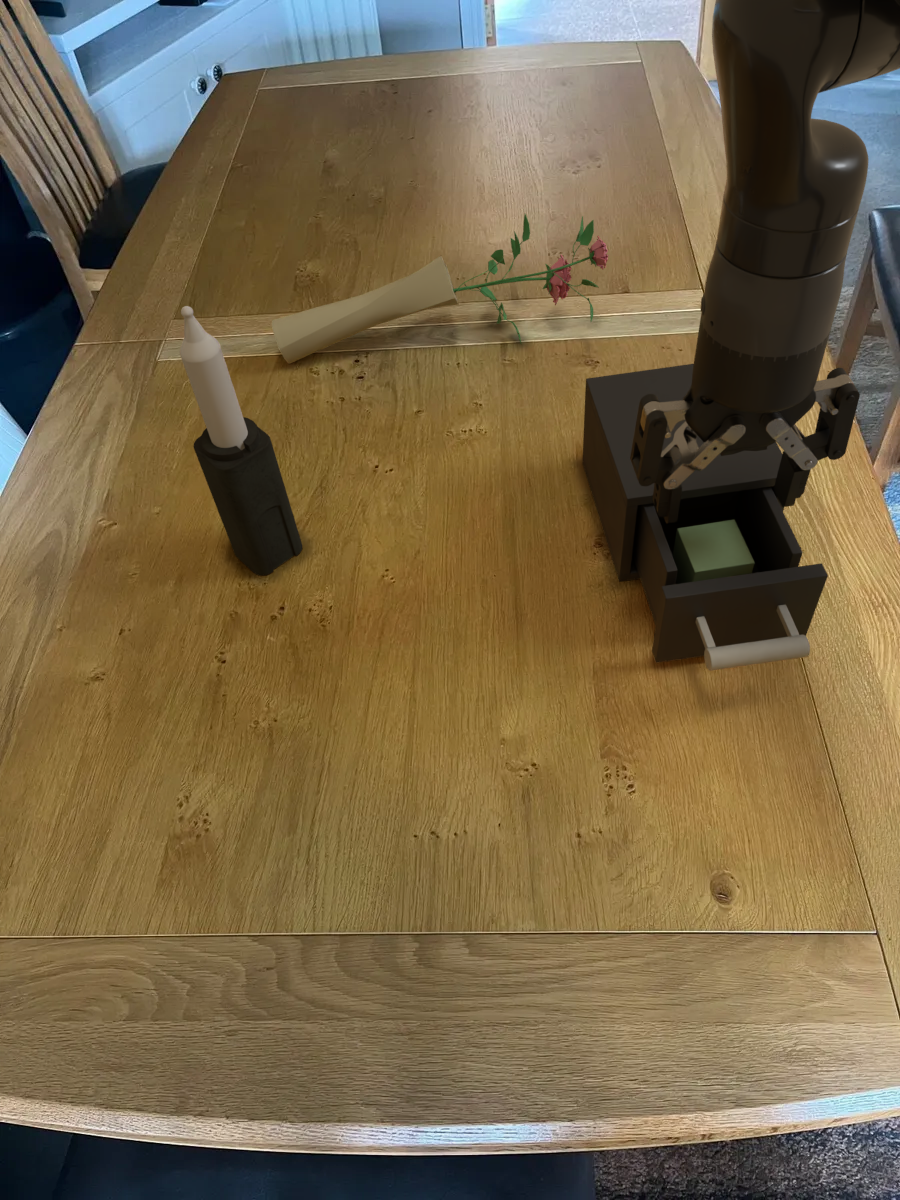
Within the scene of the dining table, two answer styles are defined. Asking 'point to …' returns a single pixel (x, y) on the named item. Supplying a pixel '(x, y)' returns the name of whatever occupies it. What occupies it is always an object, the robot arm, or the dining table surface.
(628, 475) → the cabinet
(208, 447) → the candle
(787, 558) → the drawer
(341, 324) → the flower vase
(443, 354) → the dining table surface
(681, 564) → the block
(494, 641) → the dining table surface
